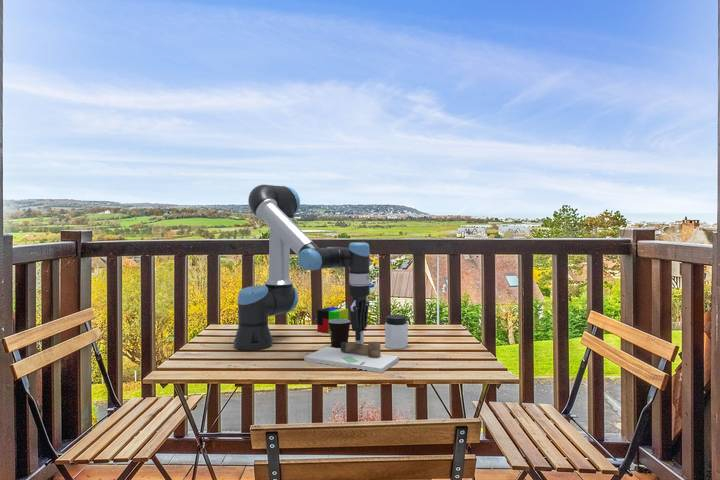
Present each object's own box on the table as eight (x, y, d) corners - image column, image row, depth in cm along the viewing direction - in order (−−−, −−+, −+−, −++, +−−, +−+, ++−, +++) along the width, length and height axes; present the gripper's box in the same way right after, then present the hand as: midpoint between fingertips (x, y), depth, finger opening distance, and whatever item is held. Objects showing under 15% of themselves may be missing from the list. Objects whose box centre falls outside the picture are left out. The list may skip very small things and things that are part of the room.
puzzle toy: (331, 327, 214) (331, 306, 214) (348, 330, 208) (348, 309, 208) (317, 331, 206) (317, 309, 206) (334, 334, 200) (334, 312, 200)
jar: (406, 343, 184) (406, 314, 184) (408, 349, 176) (408, 318, 176) (384, 343, 184) (384, 314, 184) (385, 349, 176) (385, 318, 176)
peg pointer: (339, 352, 165) (339, 340, 165) (345, 349, 169) (345, 337, 169) (377, 357, 158) (377, 345, 158) (382, 354, 162) (382, 342, 162)
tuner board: (304, 361, 161) (304, 356, 161) (326, 350, 174) (326, 346, 174) (381, 373, 148) (381, 368, 148) (398, 360, 161) (398, 356, 161)
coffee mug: (347, 349, 176) (347, 324, 176) (326, 348, 178) (326, 323, 177) (353, 342, 187) (353, 318, 187) (333, 341, 189) (333, 317, 189)
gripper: (360, 287, 158) (360, 354, 159) (376, 283, 170) (376, 345, 171) (341, 286, 162) (342, 351, 162) (358, 282, 173) (358, 343, 174)
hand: (359, 348), depth 167 cm, fingers closed
